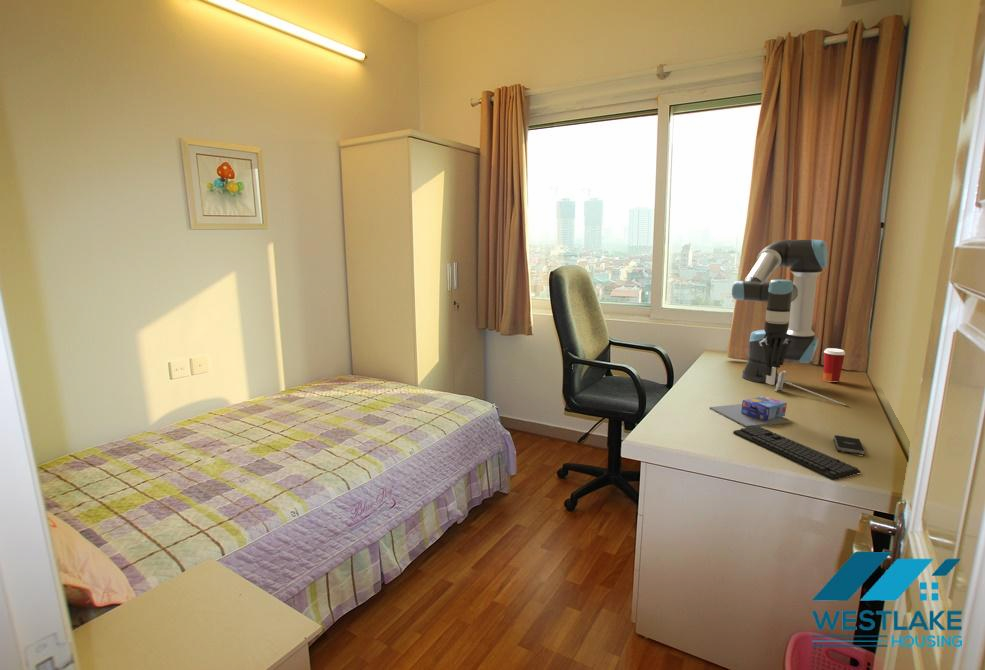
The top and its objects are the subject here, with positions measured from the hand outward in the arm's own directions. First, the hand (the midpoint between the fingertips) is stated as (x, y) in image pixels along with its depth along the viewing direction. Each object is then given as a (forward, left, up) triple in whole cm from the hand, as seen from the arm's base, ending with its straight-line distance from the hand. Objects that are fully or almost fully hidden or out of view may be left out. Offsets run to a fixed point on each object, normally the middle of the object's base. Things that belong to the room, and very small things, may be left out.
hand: (770, 383), depth 184 cm
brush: (-31, -11, -12) cm, 35 cm away
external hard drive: (-2, +32, -13) cm, 35 cm away
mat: (+8, 0, -12) cm, 15 cm away
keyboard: (+18, +30, -13) cm, 37 cm away
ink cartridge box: (-3, +1, -9) cm, 9 cm away
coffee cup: (-60, -28, -12) cm, 67 cm away
